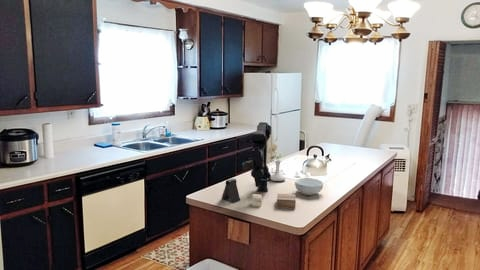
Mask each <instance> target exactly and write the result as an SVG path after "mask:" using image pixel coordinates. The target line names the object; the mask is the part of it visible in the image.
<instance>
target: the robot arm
mask: <svg viewBox="0 0 480 270" xmlns="http://www.w3.org/2000/svg"><path fill="white" fill-rule="evenodd" d="M272 131H273V130H272V125H270V124H269V123H268V122H264V121H261V122H259V123H258V125H257V126H256V131H254V132H253V133H252V134H251V139H250V145H249V146H250V147H251V148H252V150H251V151H250V155H249V156H250V159H251V160H247V161H244V162H242V164H241V165H242V166H241V167H242V168H243V171H246V170H247V169H252V170H251V171H250V176H251V177H252V178H253V179H254V184H255V187H256V188H257V189H256V192H262V193H263V192H264V193H268V192H269V188H268V183H270V182H271V181H272V180H271V174H272V173H270V169H269V166H268V165H267V164H268V162H267V160H268V141H269V139H270V138H271V135H272Z"/></svg>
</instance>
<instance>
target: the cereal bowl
mask: <svg viewBox="0 0 480 270" xmlns="http://www.w3.org/2000/svg"><path fill="white" fill-rule="evenodd" d="M294 184H295V185H294V186H295V189H296V190H297V191H298V192H300V193H302V194H303V195H305V196H307V195H308V196H314V195H315V194H318V193H320V192H321V191H322V190H323V188H324V182H323V181H322V180H319V179H317V178H310V177H307V178H306V177H302V178H301V177H300V178H298V179H295V181H294Z"/></svg>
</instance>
